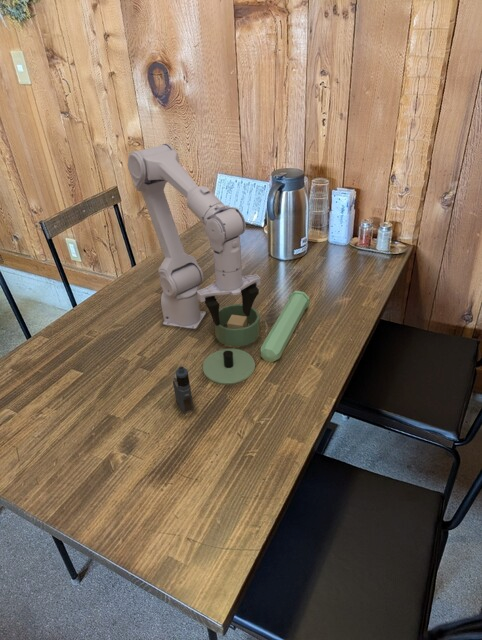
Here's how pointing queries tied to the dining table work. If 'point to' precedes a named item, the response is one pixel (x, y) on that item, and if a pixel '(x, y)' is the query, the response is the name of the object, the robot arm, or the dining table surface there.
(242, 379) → the lid
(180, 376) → the vaping device
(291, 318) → the green octagonal rod
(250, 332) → the pan
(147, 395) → the dining table surface
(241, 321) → the block
